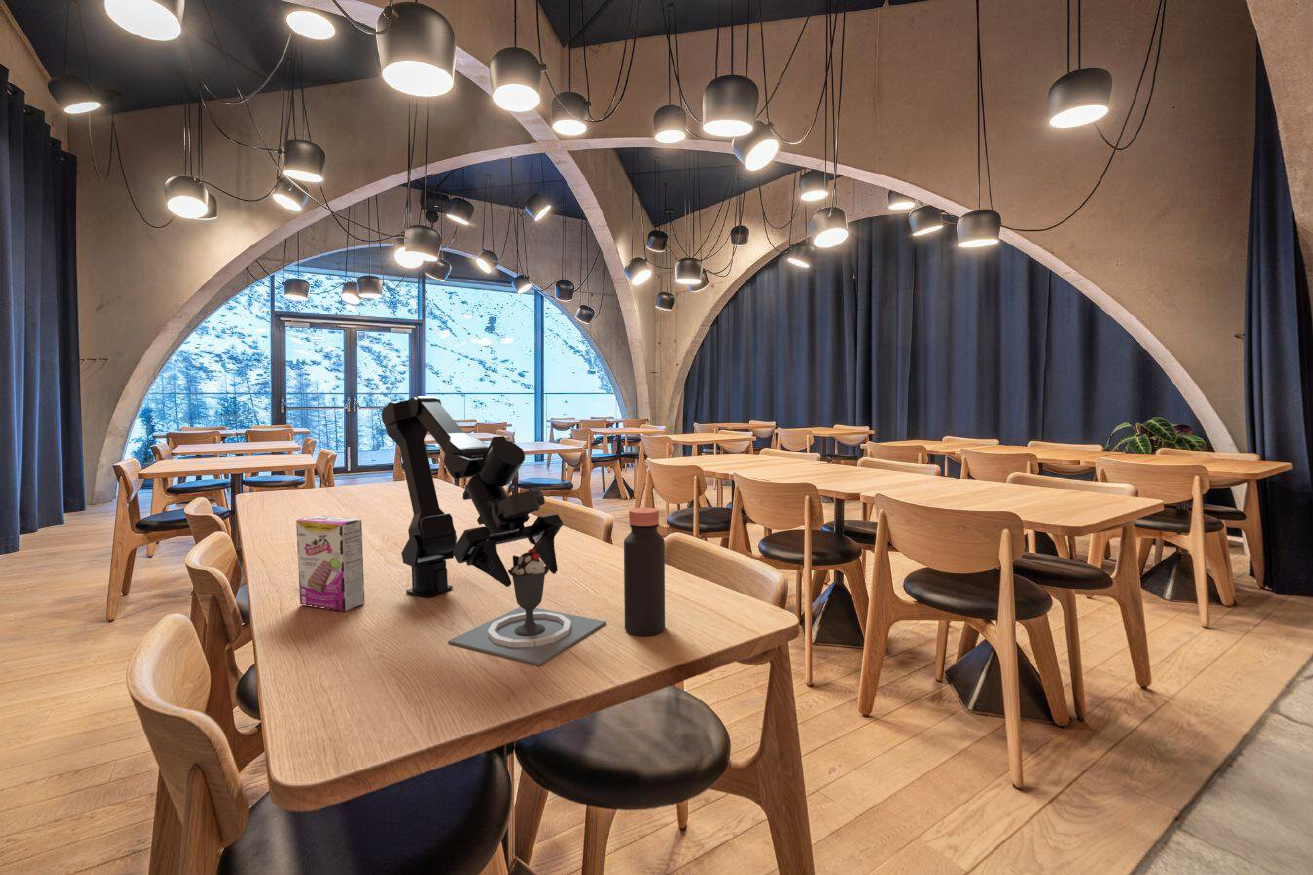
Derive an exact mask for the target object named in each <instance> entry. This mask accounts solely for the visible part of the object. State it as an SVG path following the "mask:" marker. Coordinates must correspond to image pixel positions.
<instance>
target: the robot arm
mask: <svg viewBox="0 0 1313 875" xmlns="http://www.w3.org/2000/svg"><path fill="white" fill-rule="evenodd" d="M381 420H382V422H383V425H384V426H385V429H386V433H387V436H388V437H389V438H390V439H391V440H392V441H393V442H394V443H395V444H396V445H397V446H398V447H399V448H398V449H399V451H400V456H401V461H402V465H403V470H404V476H405V480H406V484H407V489H408V494H409V498H410V502H411V508H412V514H413V516H412V519H411V522H410V525H409V527H408V529H407V530H408V540H407V541H406V544H405V545H404V548H403V549H402V551H401V559H402V563H403V564H405V565H406V566H409V567H411V584H412V586H411V588H409V589H406V590H405V593H406V594H408V595H409V594H410V595H414V596H417V597H418V596H419V597H424V598H431V597H434V596H436V595H439V594H441V593H445V592H448V591H450V590H453V589H454V588H453V587H454V586H453V585H451V584H450V585H449V584H448V582H449V581H448V568H447V560H451V559H452V560H453V559H454V558H455V560H456V562H457V563H458V564H464V563H466V565H467V566H472V567H475V569H478V570H480V571H482V572H484V573H485V574H487V575H488V576H490V577H492V578H493V579H494V580H496V581H497V582H498V583H500V584H502V585H503V586H505V587H506V588H508V587H510V586H511V585H512V581H511V578H510V574H509V572H508V570H507V569H506V567H505V565H504V563H503V562H502V560H501V557H500V556H499V554H498V550H497V545H501V544H506V543H511V542H517V541H520V540H525V539H528V541H529V542H530V544H532V545H533V547H534V545H535V544H536V543H537V541H541V543H540V544H539V543H537V544H536V545H538V544H539V545H538V546H537V547H536V545H535V547H536V554H538V555H539V559H540V560H541V561H542V562H543V564H544V566H549V572H551V573H552V574H553V575H555V574H557V572H558V570H559V569H558V562H557V557H556V556H557V555H556V549H555V537H556V536H557V534H558V533H559V531H560V530H561V528H562V527H563V526H564V522H563V520H562V518H561V517H560V515H559V514H557V513H548V514H543V515H542V514H541V515H538V516H537V517H536V519H535V520H534V522H533V523H532V525H526V526H525V523H528V521H529V520H530V518H531V516H530V514H532V513H533V512H535V511H536V512H537V511H539V510H540V507H541V506H544V505H545V501H546V500H545V496H544V493H543V492H542V491H541V489H540V488H539V487H538V486H537V487H532V488H529V490H528V489H527V490H526V491H524V492H518V493H513V494H511V495H508V493H507V491H506V490H505V488H504V487H506V486H508V485H510V484H511V482H512V481H513V479H514V478H515V476H516V475H517V472H518V471H519V469H520V468H521V466H522V465H523V463H524V462H525V460H526V453H525V452H524V449H523V448H522V447H520V446H519V445H517V444H516V443H514V442H512V441H509V440H507V439H506V437H505V436H504V435H502V436H501V435H500V436H493V437H492V439H491V440H490V444H489V446H488V445H487V444H486V443H484V442H483V441H481V440H480V439H478V438H475V437H473V436H470V435H468V434H467V433H465V431H464V430H463V429H462V428H461V427H460V426H459V424H457V422H456V421H455V420H454V418H452V416H451V415H450V414H449V412H448V411H447V410H446V408H444V407H443V406H442V401H441V400H440V398H438V397H436V396H431V395H430V396H419V395H418V396H414V397H411V398H409V399H406V400H402V401H390V402H388V403H387V404H386V406H384V407H383V409H382V410H381ZM428 433H429V434H430V436H431V437H432V438H433V439H434V441H435V442H436V443H437V445H438V446H439V447H440V448H441V450H442V452H443V453H444V455H443V463H444V465H445V468H446V469H447V471H448V473H449V474H450V476H451V477H452V478H453V479H455V480H458V479H459V480H461V479H468V478H469V480H468V482H467V483H466V484H465V486H464V491H463V493H462V500H464V501H465V500H466V501H468V500H471V502H472V504H473V506H474V507H475V510H476V512H477V513H478V515H479V516H478V518H477V519H476V521H477V523H478V525H484V526H478V527H475V528H469V529H464V530H463V531H462V533H461V535H460V537H459V539H458V536H457V535H458V534H457V530H456V528H455V525H454V519H453V516H452V514H451V513H445V512H444V511H443V510H442V509H441V508H440V505H439V504H440V503H439V500H438V497H437V492H436V487H435V483H434V482H435V481H434V477H433V473H432V470H431V465H430V460H429V455H428V451H427V447H426V443H425V440H426V437H427V435H428ZM533 547H532V548H533ZM535 547H534V548H533V549H534V550H535Z"/></svg>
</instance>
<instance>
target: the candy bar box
mask: <svg viewBox="0 0 1313 875" xmlns="http://www.w3.org/2000/svg"><path fill="white" fill-rule="evenodd" d="M295 525H296V540H297V541H296V542H297V543H296V544H297V562H298V568H297V569H298V583H299V584H298V586H299V587H298V588H299V605H300V604H306V605H312V606H317V607H324V608H329V609H335V610H334V611H336V610H341V611H340V612H342V611H346V612H348V611H347V610H349V609H352V608H354V607H356V608H358V607H360V605H361V606H363V605H365V583H364V582H365V581H364V563H363V562H364V557H363V533H362V519H359V518H349V517H337V516H327V515H313V516H309V517H308V516H307V517H304V518H299V519H297V520H295ZM357 606H358V607H357ZM329 609H328V610H329ZM354 609H355V608H354ZM352 610H353V609H352ZM349 611H350V610H349Z"/></svg>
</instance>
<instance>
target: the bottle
mask: <svg viewBox="0 0 1313 875" xmlns="http://www.w3.org/2000/svg"><path fill="white" fill-rule="evenodd" d="M628 512H629V513H628V517H629V518H628V520H629V527H630V528H631V529H630V530H631V531H630V533H628V535H627V536H626V537H625V538H624V540H623V561H624V562H623V580H624V581H623V583H624V584H623V587H624V589H623V590H624V595H623V596H624V597H623V598H624V600H623V601H624V602H623V604H624V629H625V631H626V632H627V633H629V634H631V635H634V636H638V637H640V636H641V637H649V636H655V635H658V634H660V633H662V632H664V630H665V628H666V575H665V574H666V567H665V566H666V558H665V556H666V555H665V554H666V553H665V552H666V549H665V546H666V544H665V543H666V542H665V541H666V540H665V538H664V537H663V536H662V535H661V534H660V533H659V532H658V527H659V524H660V510H659V509H658V508H654V507H635V508H631V509H629V511H628Z"/></svg>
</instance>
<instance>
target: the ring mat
mask: <svg viewBox="0 0 1313 875" xmlns="http://www.w3.org/2000/svg"><path fill="white" fill-rule="evenodd" d="M533 619H534V622H535V623H536V624H541V625H543V626H544V627H545V630H544V631H543V632H542V633H540V634H536V635H531V636H522V635H518V634H516V633H515V631H514V630H515V629H516V627H518V626H520V625H524V623H525V621H526V610H525V609H523V608H522V607H521V606H518V607H517V608H515V609H513V610H510V611H508V612H507V613H504V614H501V615H500V616H497V617H496V618H493V619H491V620H489V621H487V622H485V623H482V624H481V625H478V626H476V627H474V628H473V629H470V630H467V631H465V632H464V633H462V634H460V635H457V636H455V637H453V638H451V639H449V640H447V643H448V644H450V645H455V646H457V647H458V646H459V647H463V648H466V649H470V650H473V651H474V650H475V651H477V652H482V653H487V654H490V655H491V654H492V655H493V656H494V655H495V656H498V657H503V658H505V659H506V658H507V659H510V660H515V661H519V662H523V663H526V664H530V665H534V666H542V665H543V664H545V663H546V662H548V661H549V660H551V659H553V658H554V657H556V656H557V655H560V654H561V653H562V652H564V651H565V650H567V649H568V648H570V647H572V646H573V645H575V644H576V643H578V642H579V641H581V640H582V639H584V638H586V637H588V636H589V635H590V634H592V633H594V632H595V631H597V630H598V629H600V628H602V627H604V626H605V625H606V624H607V620H606V621H605V620H600V619H595V618H591V617H584V616H580V615H574V614H569V613H565V612H559V611H554V610H547V609H544V608H538V607H536V608H535V609H534V610H533Z"/></svg>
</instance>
